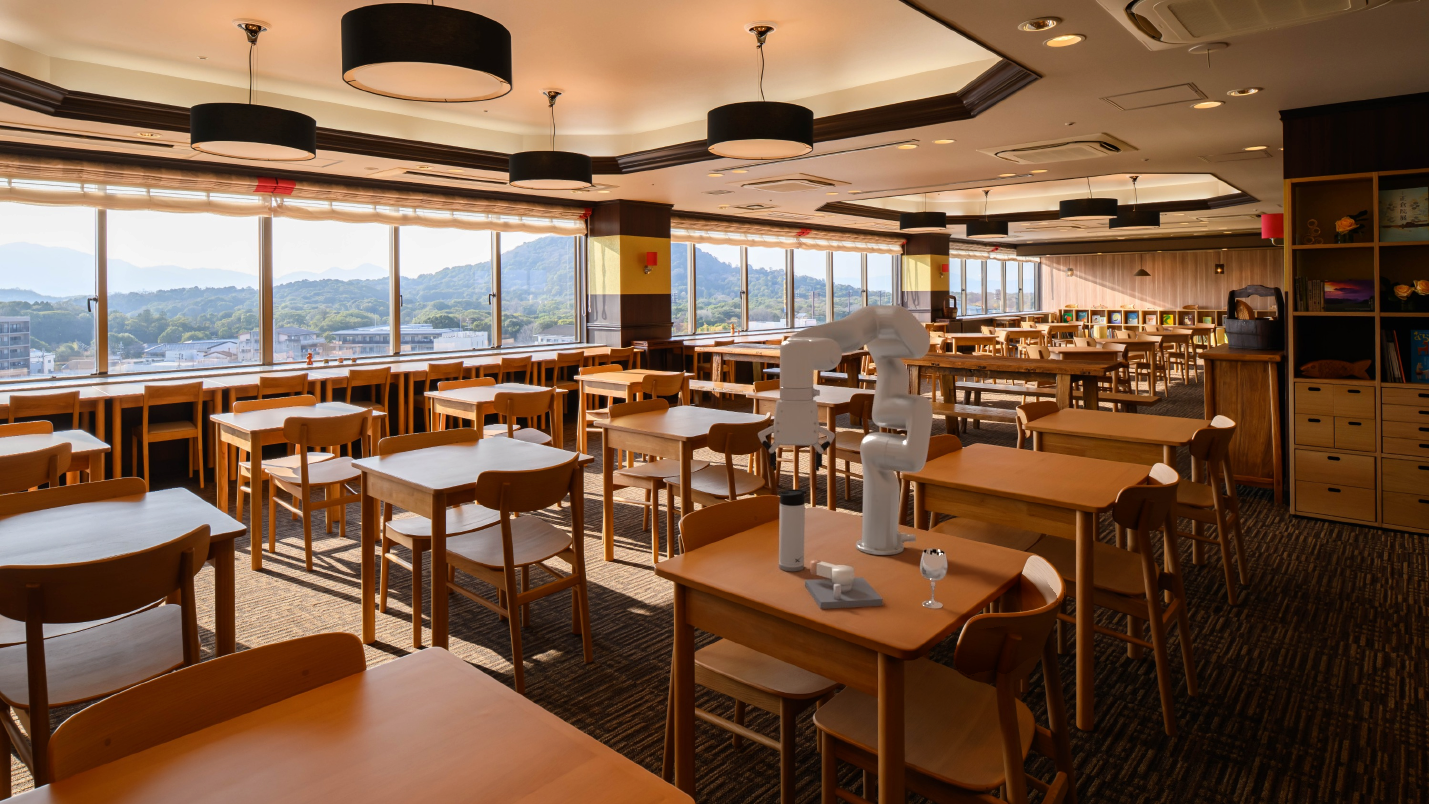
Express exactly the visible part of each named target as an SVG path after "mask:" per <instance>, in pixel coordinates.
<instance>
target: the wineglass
mask: <svg viewBox="0 0 1429 804" xmlns="http://www.w3.org/2000/svg"><path fill="white" fill-rule="evenodd" d="M947 560H948V559H947V554H946V551H944V550H943V549H938V548H925V549H923V551H922V554H921V557H920V564H919V570H920V573H921V576H922V577H924V578H925V580H926V579H927V580H929V581H931V582H930V589H931V598H930V599H929V600H925V601H922V602H921V605H922V606H923V607H925V608H927V609H933V610H934V609H935V610H937V609H941V608H943V605H944V604H943V603H941V602H939V601H937V600H935V597H934V596H935V593H934V592H935V588H936V582H937V581H941V580H943V579H944V578H945V577H946V575H947V574H948V561H947Z"/></svg>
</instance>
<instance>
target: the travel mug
mask: <svg viewBox="0 0 1429 804" xmlns="http://www.w3.org/2000/svg"><path fill="white" fill-rule="evenodd" d="M805 495H807V489H798V488H797V489H786V490H783V491H781V493H779V517H778V518H779V522H778V523H779V528H778V529H779V531H778V532H779V534H778V535H779V536H778V537H779V539H778V541H779V542H778V543H779V545H778V547H779V548H778V560H779V561H778V568H779V569H780V570H782V571H785V572H793V573H794V572H800V571H802V570H803V569H804V568H805V523H806V522H805V519H806V518H805V516H806V515H805V513H806V506H805V505H806V502H805V497H806V496H805Z"/></svg>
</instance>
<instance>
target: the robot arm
mask: <svg viewBox="0 0 1429 804" xmlns="http://www.w3.org/2000/svg"><path fill="white" fill-rule="evenodd" d="M864 346H866V349H867V350H868V353H869V354H870V356H871V358H872V361H873V363H874V366H875V368H876V383H875V389H874V396H873V401H872V403H873V404H872V410H871V411H872V412H871V418H872V422H873V423H874V424H875V425H876V426H878V427H881V428H886V429H894V430H902V431H907V434H906V435H905V434H904V435H903V434H897V433H892V432H891V433H889V432H881V431H880V432H879V431H878V432H875V431H874V432H870V433H868V434H866V435H865V436H864V437H863V438H862V440H861V443H860V448H859V453H860V459H861V467H862V477H863V478H862V480H863V481H862V482H863V483H862V485H863V486H862V487H863V488H862V526H861V527H862V530H861V539H859V540H856V542H855V547H856V549H857V550H859V551H861V552H863V553H864V554H869V555H878V556H889V555H890V556H892V555H897V554H900V553H902V552H903V551H904V547H905V546H904V544H905V542H908V543H911V542H912V543H913V542H914V543H915V542H916V540H917V539H916V535H915V534H908V533H907V532H902V533H901V532H900V531H899V518H900V517H899V515H900V513H899V512H900V509H899V508H900V483H899V480H898V477H897V475H896V473H895V472H900V473H901V472H902V473H909V474H910V473H911V474H916V473H919V472H921V470H923V468H924V467H925V465H926V462H927V458H928V453H929V452H928V451H929V448H930V447H929V445H930V438H931V432H932V425H933V420H934V419H933V417H934V413H933V412H934V411H933V405H932V403H931V401H930V400H929V399H928V397H926V396H924V395H921V394H920V395H919V394H912V393H911V394H910V393H909V387H910V386H909V384H910V373H909V369H907V366H906V364H905V362H904V361H903V360H902V359H907V360H908V359H910V360H917V359H918V360H919V359H922V358H923V357H924V356H926V355H927V354H928V352H929V350H930V347H931V339H930V334H929V331H928V330H927V328H926V327H925V326H924V325H923V323H922V322H920V320H919V319H918V318H917V317H916V316H915V315H914V313H912V312H911V311H910V310H909V309H908V308H906V307H904V306H902V305H895V304H890V305H886V304H885V305H883V304H882V305H881V304H880V305H878V304H873V305H866V306H863V307H861V308H859V309H858V310H856V311H854V312H852V313H850V314H848V315H847V316H844V317H843V318H841V319H837V320H833V321H829V322H825V323H822V324H818V325H814V326H811V327H808V328H805V329H802V330H800V331H797V332H796V333H793V334H792V335H790V336H789V337H787V339H786V340H783V341H782V342H781V343H780V346H779V399H777V400H776V402H775V408H774V415H773V416H774V418H773V425H771V426H768V427H767V428H765V429H763V430H761V431H759V432H758V433H757V436H758V438H759V441H760V442H761V445H762V446H763V447H764V448H765V449H766V450H767V451H768V452H769V466H770V467H772V470H773V471H777V451H776V450H777V449H778V448H779V447H780V446H813V448H814V449H815V450H816V451H815V454H814V455H815V460H814V461H815V466H814V467H815V468H814V469H815V471H816V472H819V471H820V468H821V467H823V453H824V452H825V451H826V450H827V449H828V448H830V446H831V444H832V443H833V441H834V439H835V437H836V434H835V432H832V431H831V430H829V429H828V428H827V429H826V428H825V427H823V426H821V425H820V423H819V409H818V402H817V400H815V399H814V398H815V397H820V396H821V390H820V389H817V388H816V389H815V388H814V371H821V372H822V371H824V372H825V371H831V370H833V369H835V368H836V367H837V366H839V364H840V362H841V361H842V357H843V354H850V353H853V352H856V351H858V350H860V349H861V348H863V347H864ZM772 433H773V440H774V441H773V442H772V443H770V442H769V441H768V440H767V438H766V436H768V435H770V434H772ZM820 434H822V435H824V436H826V437H827V438H826V439H825V440H824V442H823V443H822V444H821V443H820V442H819V440H820V439H819V438H820ZM894 471H895V472H894Z"/></svg>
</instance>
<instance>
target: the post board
mask: <svg viewBox="0 0 1429 804" xmlns="http://www.w3.org/2000/svg"><path fill="white" fill-rule="evenodd" d="M804 587H805V588H806V590H807V591H808V593H809V594H810V596H811V595H812V596H811V597H812V599H813V598H814V599H813V600H814V602H815V603H816V605H818V608H820V610H824V609H827V608H828V609H843V607H845V608H859V607H860V608H861V607H879V606H883V605H884V599H883V597H882V596H881V595H880V594H879V593H878V592H877V591H876V590H875V589H874V587H872V586H871V585H870V583H869V582H868V581H867V580H866V579H865V578H864V577H863V576H858V577H857V576H856V577H855V576H854V583H853V584H851V585H840V584H834V583H833V582H832V579H830V578H818V579H813V578H812V579H804ZM841 607H842V608H841Z"/></svg>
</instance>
